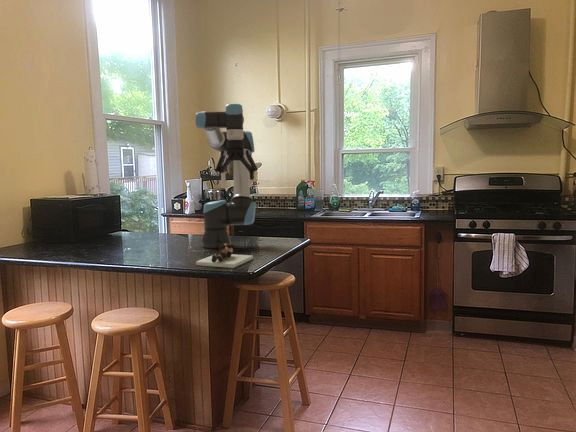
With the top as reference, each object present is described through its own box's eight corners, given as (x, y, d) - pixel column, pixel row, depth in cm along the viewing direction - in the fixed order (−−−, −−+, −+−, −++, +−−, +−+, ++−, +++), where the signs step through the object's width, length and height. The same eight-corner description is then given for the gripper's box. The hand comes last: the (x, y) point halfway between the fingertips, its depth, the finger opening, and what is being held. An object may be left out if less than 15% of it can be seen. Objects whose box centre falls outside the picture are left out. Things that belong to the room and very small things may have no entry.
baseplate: (217, 256, 209) (217, 253, 209) (253, 258, 202) (252, 255, 202) (196, 265, 192) (195, 261, 192) (233, 267, 186) (233, 264, 186)
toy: (210, 249, 188) (225, 239, 202) (208, 263, 190) (222, 253, 204) (224, 253, 187) (237, 243, 201) (221, 267, 189) (235, 256, 203)
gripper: (206, 140, 204) (208, 187, 207) (256, 138, 195) (258, 187, 197) (215, 140, 211) (217, 186, 214) (264, 138, 202) (265, 186, 204)
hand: (236, 187), depth 206 cm, fingers open, 13 cm apart
